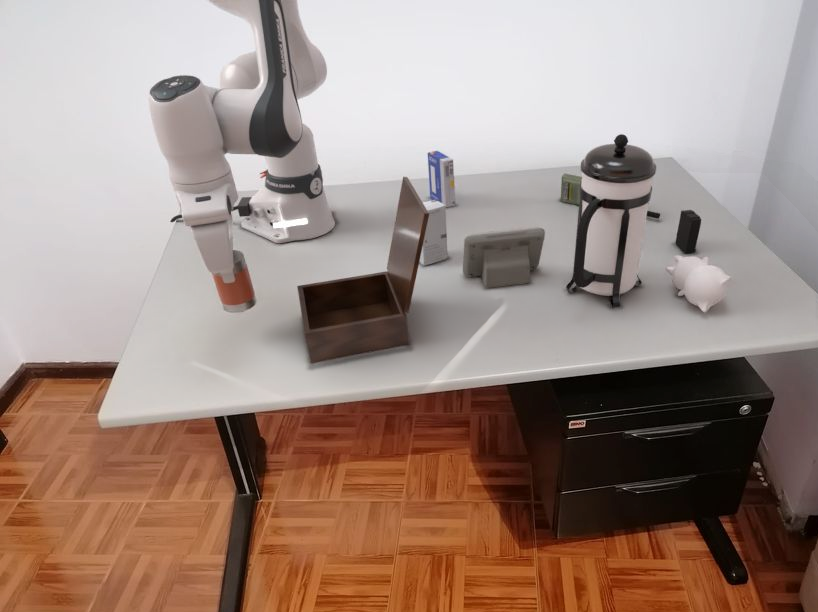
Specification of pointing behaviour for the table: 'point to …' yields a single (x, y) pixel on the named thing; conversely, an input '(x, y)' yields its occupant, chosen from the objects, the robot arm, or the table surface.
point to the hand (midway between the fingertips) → (229, 271)
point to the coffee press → (612, 218)
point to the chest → (352, 316)
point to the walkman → (441, 178)
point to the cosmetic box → (434, 234)
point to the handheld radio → (572, 188)
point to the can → (236, 287)
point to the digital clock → (503, 255)
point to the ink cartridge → (688, 231)
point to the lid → (407, 243)
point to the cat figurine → (699, 281)
